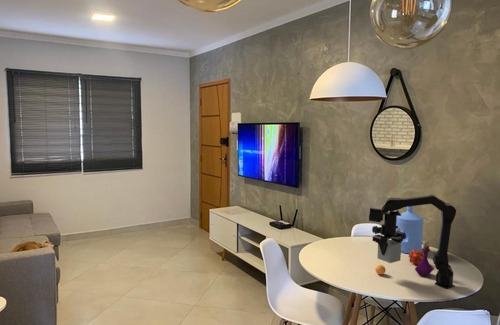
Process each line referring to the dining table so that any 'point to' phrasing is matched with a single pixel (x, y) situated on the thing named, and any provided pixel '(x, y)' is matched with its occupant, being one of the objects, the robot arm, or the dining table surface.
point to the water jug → (410, 230)
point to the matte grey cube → (391, 252)
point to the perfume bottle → (424, 262)
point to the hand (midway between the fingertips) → (388, 253)
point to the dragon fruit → (415, 257)
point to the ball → (380, 269)
